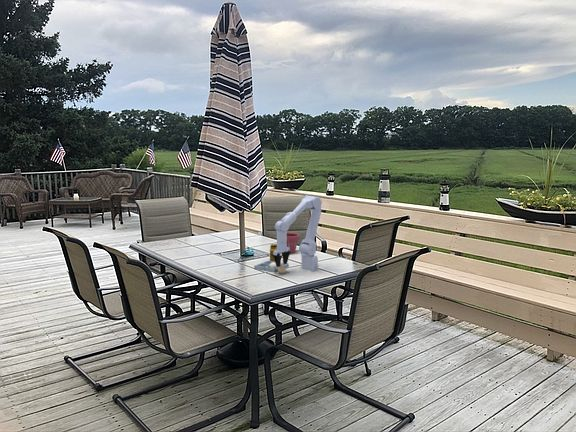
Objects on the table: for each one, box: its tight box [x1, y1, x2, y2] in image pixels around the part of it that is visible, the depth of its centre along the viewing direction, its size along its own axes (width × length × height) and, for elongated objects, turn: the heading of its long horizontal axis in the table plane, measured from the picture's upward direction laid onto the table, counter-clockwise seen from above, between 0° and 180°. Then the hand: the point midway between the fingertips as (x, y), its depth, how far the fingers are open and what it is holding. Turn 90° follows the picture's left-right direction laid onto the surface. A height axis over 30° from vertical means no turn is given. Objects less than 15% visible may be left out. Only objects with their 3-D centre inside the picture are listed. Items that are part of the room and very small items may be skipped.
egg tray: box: [253, 260, 290, 273], centre depth 281 cm, size 15×15×3 cm
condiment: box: [269, 243, 281, 262], centre depth 296 cm, size 7×8×12 cm
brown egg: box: [277, 266, 287, 275], centre depth 271 cm, size 5×5×5 cm
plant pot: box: [287, 232, 300, 255], centre depth 325 cm, size 14×14×13 cm
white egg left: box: [269, 262, 277, 269], centre depth 276 cm, size 5×5×5 cm
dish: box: [274, 271, 290, 276], centre depth 271 cm, size 6×6×1 cm
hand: (281, 265), depth 270 cm, fingers open, 7 cm apart
